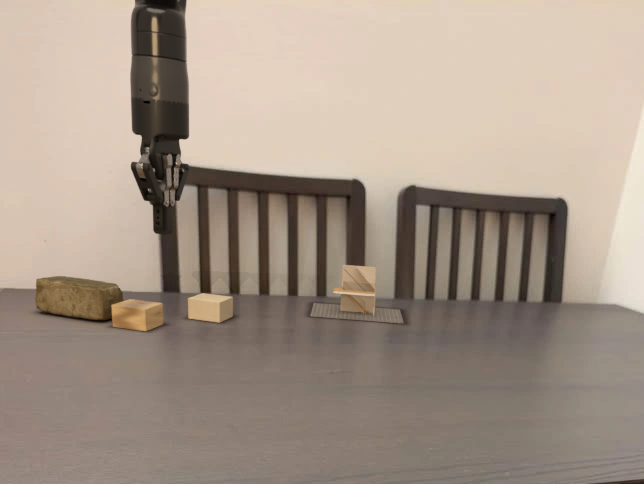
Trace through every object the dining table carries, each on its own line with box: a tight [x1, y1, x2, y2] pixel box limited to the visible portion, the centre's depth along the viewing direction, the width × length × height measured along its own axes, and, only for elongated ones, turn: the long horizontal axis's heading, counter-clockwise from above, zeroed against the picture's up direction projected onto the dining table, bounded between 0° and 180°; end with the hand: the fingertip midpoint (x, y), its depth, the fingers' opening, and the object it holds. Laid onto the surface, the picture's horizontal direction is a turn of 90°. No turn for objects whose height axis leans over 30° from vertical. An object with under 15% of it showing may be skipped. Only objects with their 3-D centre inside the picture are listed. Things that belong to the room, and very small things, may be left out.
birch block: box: [111, 298, 164, 332], centre depth 101 cm, size 5×5×3 cm
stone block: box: [34, 275, 124, 321], centre depth 103 cm, size 6×12×5 cm, turn 74°
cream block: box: [187, 292, 234, 324], centre depth 109 cm, size 5×5×3 cm
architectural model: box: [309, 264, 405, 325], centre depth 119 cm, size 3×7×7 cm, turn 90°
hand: (162, 233), depth 104 cm, fingers closed
